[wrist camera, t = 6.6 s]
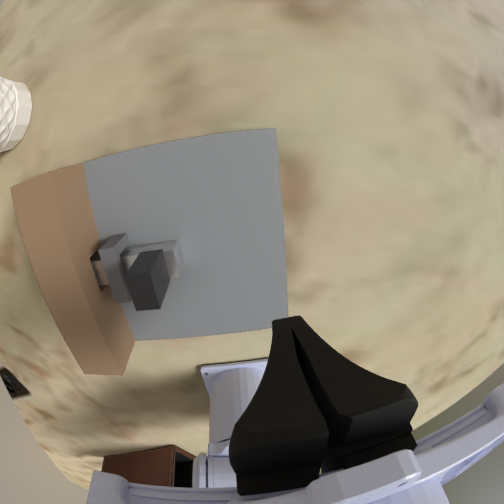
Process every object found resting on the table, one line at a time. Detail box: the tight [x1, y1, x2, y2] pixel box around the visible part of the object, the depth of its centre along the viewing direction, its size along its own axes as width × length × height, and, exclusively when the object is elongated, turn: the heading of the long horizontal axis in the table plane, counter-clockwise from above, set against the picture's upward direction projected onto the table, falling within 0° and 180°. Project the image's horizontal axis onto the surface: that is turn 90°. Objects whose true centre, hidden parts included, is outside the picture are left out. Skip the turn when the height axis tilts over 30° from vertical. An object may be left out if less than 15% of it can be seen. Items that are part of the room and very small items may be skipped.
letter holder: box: [101, 445, 196, 488], centre depth 31 cm, size 10×20×14 cm, turn 122°
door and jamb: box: [10, 128, 288, 375], centre depth 19 cm, size 18×16×6 cm
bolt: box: [90, 241, 183, 311], centre depth 17 cm, size 10×2×5 cm, turn 96°
